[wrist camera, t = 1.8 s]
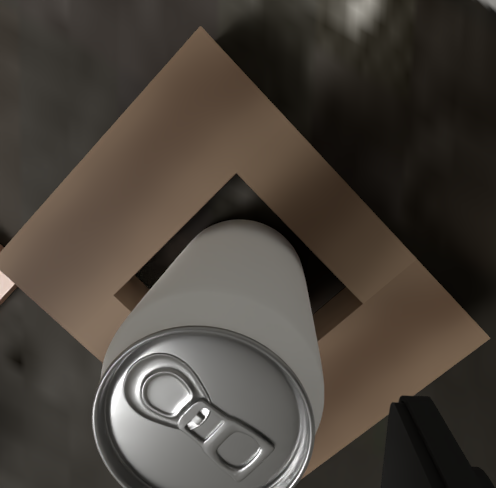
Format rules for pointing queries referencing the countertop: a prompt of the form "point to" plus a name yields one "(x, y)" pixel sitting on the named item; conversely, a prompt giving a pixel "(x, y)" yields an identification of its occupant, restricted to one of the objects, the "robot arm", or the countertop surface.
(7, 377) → the countertop surface
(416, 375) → the well board
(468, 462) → the robot arm
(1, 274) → the tile
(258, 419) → the can
